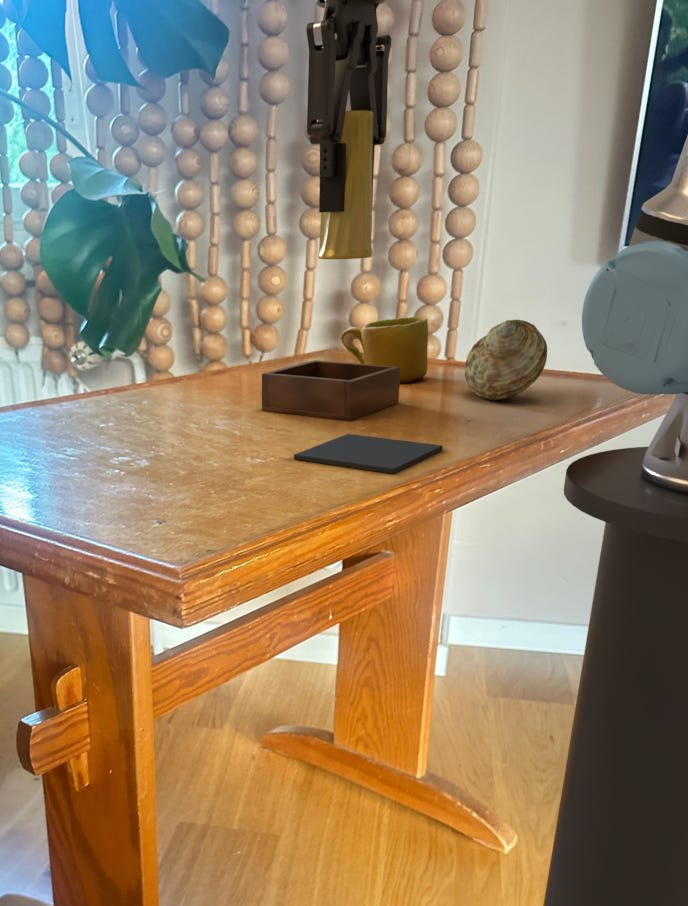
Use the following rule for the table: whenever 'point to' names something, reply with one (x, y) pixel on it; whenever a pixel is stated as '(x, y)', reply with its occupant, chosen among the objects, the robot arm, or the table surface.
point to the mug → (392, 345)
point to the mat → (369, 453)
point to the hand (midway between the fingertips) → (346, 211)
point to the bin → (331, 389)
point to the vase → (352, 195)
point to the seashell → (506, 360)
